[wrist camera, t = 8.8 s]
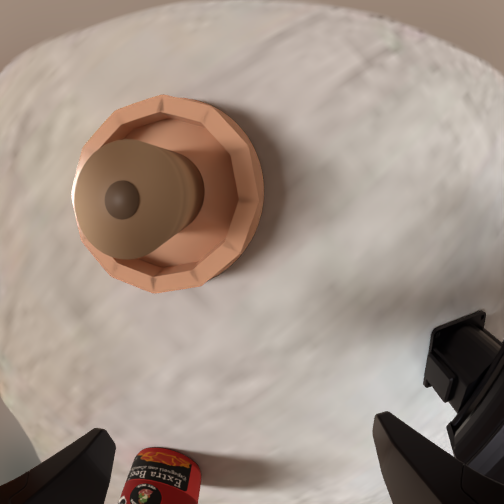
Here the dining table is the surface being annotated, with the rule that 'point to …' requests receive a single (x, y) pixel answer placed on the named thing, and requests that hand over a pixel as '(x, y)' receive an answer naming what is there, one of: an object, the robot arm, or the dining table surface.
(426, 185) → the dining table surface
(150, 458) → the canned food
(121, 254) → the bead
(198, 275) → the dish
